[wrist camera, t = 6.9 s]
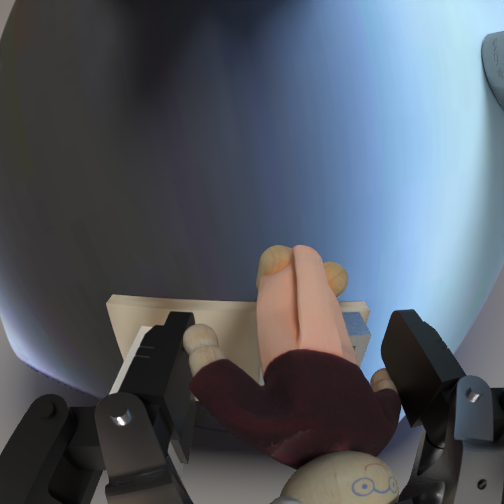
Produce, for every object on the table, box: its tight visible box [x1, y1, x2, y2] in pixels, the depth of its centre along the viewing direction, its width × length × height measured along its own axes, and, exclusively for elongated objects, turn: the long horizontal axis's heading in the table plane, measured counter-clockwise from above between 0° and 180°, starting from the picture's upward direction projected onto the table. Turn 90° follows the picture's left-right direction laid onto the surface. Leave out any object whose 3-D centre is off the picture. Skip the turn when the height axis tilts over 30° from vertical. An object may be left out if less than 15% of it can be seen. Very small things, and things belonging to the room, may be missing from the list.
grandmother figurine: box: [183, 245, 402, 504], centre depth 7 cm, size 8×4×13 cm, turn 80°
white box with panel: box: [109, 326, 197, 479], centre depth 19 cm, size 5×8×11 cm, turn 179°
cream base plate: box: [106, 295, 370, 401], centre depth 24 cm, size 22×12×2 cm, turn 89°
